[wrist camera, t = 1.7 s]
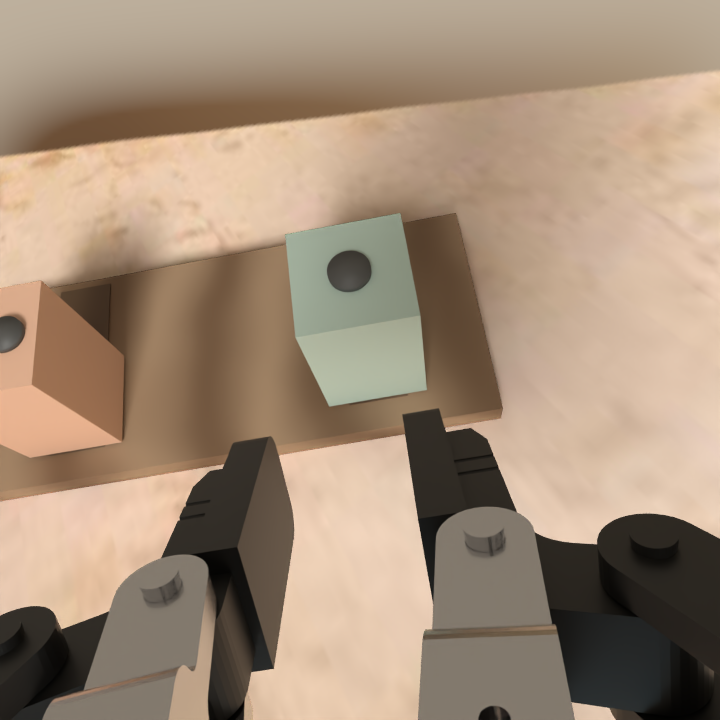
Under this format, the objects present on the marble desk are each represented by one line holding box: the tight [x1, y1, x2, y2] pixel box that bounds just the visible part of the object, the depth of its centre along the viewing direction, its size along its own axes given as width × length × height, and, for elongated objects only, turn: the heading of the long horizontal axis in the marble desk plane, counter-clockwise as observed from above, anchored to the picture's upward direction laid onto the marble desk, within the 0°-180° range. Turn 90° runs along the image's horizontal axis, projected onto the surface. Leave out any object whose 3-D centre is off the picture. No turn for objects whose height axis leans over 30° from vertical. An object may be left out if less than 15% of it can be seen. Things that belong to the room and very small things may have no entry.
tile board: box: [0, 213, 503, 501], centre depth 36 cm, size 28×12×2 cm, turn 97°
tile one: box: [285, 213, 427, 407], centre depth 30 cm, size 5×5×8 cm
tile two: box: [0, 281, 124, 458], centre depth 31 cm, size 5×5×8 cm
